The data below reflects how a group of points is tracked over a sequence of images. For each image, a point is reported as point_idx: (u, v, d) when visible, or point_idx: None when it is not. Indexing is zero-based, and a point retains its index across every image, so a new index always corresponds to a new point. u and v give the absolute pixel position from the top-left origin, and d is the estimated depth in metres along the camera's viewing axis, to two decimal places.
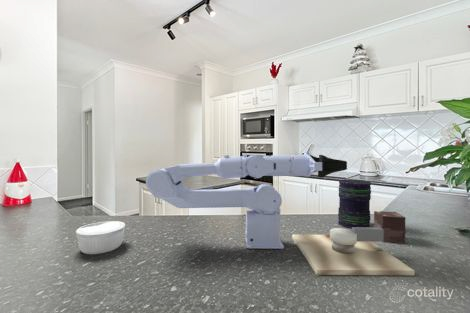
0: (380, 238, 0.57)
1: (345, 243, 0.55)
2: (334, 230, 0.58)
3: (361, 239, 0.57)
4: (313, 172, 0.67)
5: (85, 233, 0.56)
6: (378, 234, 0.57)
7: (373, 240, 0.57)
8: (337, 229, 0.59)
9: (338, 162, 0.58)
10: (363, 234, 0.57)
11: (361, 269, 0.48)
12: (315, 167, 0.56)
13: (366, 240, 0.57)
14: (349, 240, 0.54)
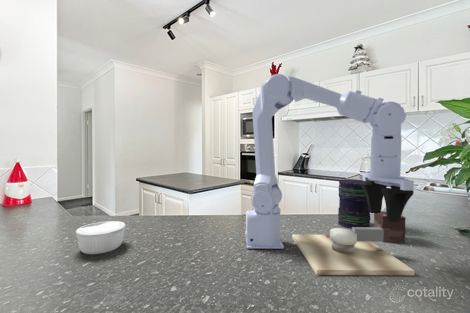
0: (380, 238, 0.57)
1: (345, 243, 0.55)
2: (334, 230, 0.58)
3: (361, 239, 0.57)
4: (366, 188, 0.56)
5: (85, 233, 0.56)
6: (378, 234, 0.57)
7: (373, 240, 0.57)
8: (337, 229, 0.59)
9: (399, 211, 0.49)
10: (363, 234, 0.57)
11: (361, 269, 0.48)
12: (408, 182, 0.45)
13: (366, 240, 0.57)
14: (349, 240, 0.54)
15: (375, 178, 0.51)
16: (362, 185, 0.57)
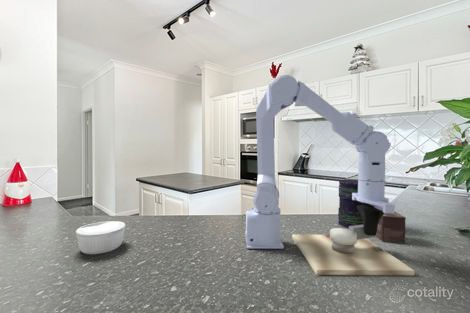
0: None
1: (349, 243, 0.54)
2: (334, 231, 0.58)
3: (358, 237, 0.58)
4: (362, 211, 0.58)
5: (85, 233, 0.56)
6: None
7: (367, 237, 0.59)
8: (335, 229, 0.59)
9: (374, 226, 0.58)
10: (360, 232, 0.58)
11: (361, 269, 0.48)
12: (389, 206, 0.51)
13: (362, 237, 0.58)
14: (353, 240, 0.55)
15: (362, 200, 0.57)
16: (358, 208, 0.59)
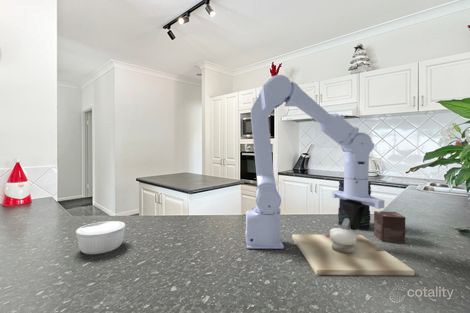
0: (350, 227, 0.64)
1: (355, 242, 0.55)
2: (338, 233, 0.56)
3: None
4: (349, 208, 0.61)
5: (85, 233, 0.55)
6: None
7: None
8: (334, 231, 0.58)
9: (358, 221, 0.62)
10: (348, 228, 0.61)
11: (361, 269, 0.48)
12: (381, 201, 0.55)
13: None
14: (356, 237, 0.56)
15: (351, 197, 0.60)
16: (345, 205, 0.62)
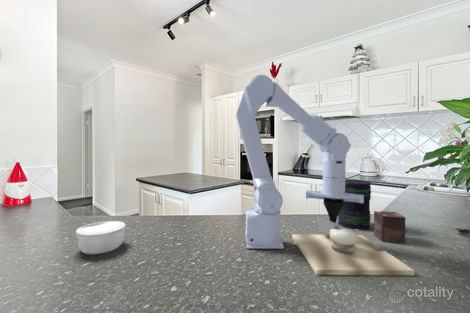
0: None
1: None
2: (345, 235, 0.55)
3: None
4: (332, 207, 0.62)
5: (85, 233, 0.56)
6: None
7: None
8: (338, 233, 0.56)
9: None
10: None
11: (361, 269, 0.48)
12: (363, 196, 0.61)
13: None
14: None
15: (337, 196, 0.61)
16: (328, 204, 0.62)
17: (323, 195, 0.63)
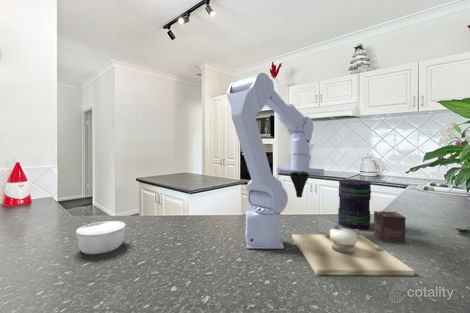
0: None
1: None
2: (345, 235, 0.55)
3: None
4: (297, 179, 0.73)
5: (85, 233, 0.56)
6: None
7: None
8: (338, 233, 0.56)
9: (302, 189, 0.75)
10: None
11: (361, 269, 0.48)
12: (323, 170, 0.72)
13: None
14: None
15: (302, 170, 0.72)
16: (294, 177, 0.73)
17: (290, 169, 0.74)
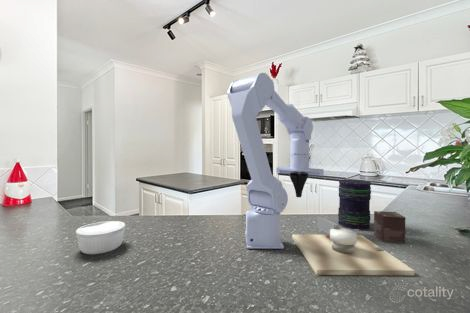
0: None
1: None
2: (345, 235, 0.55)
3: None
4: (297, 179, 0.73)
5: (85, 233, 0.55)
6: None
7: None
8: (338, 233, 0.56)
9: (302, 189, 0.76)
10: None
11: (361, 269, 0.48)
12: (323, 170, 0.72)
13: None
14: None
15: (301, 170, 0.72)
16: (293, 177, 0.73)
17: (290, 169, 0.74)
